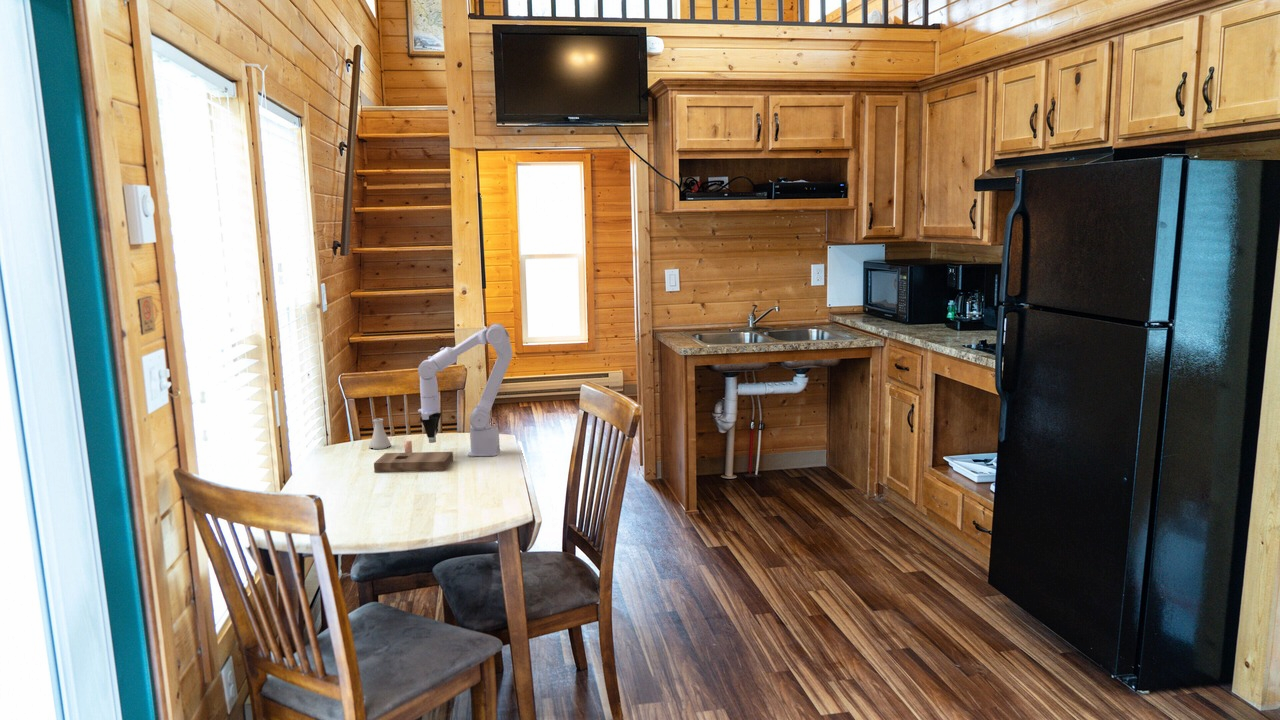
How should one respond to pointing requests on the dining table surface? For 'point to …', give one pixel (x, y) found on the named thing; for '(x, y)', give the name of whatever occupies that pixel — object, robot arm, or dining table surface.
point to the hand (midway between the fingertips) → (432, 436)
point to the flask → (379, 436)
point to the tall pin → (433, 439)
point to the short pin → (408, 446)
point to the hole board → (413, 461)
